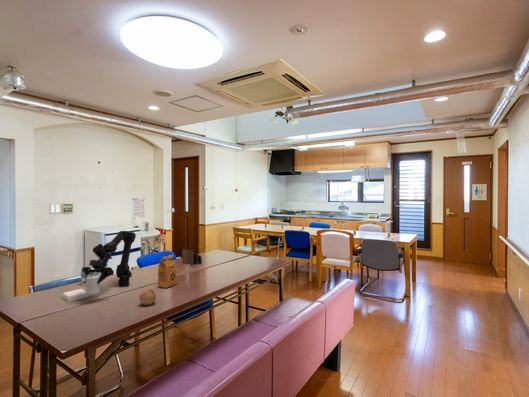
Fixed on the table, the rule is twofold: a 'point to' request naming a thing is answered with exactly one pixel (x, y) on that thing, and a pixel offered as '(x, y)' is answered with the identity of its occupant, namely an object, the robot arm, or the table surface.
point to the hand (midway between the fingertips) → (91, 283)
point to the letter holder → (191, 257)
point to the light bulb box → (84, 277)
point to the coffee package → (167, 272)
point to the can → (92, 284)
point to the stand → (74, 295)
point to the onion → (147, 297)
